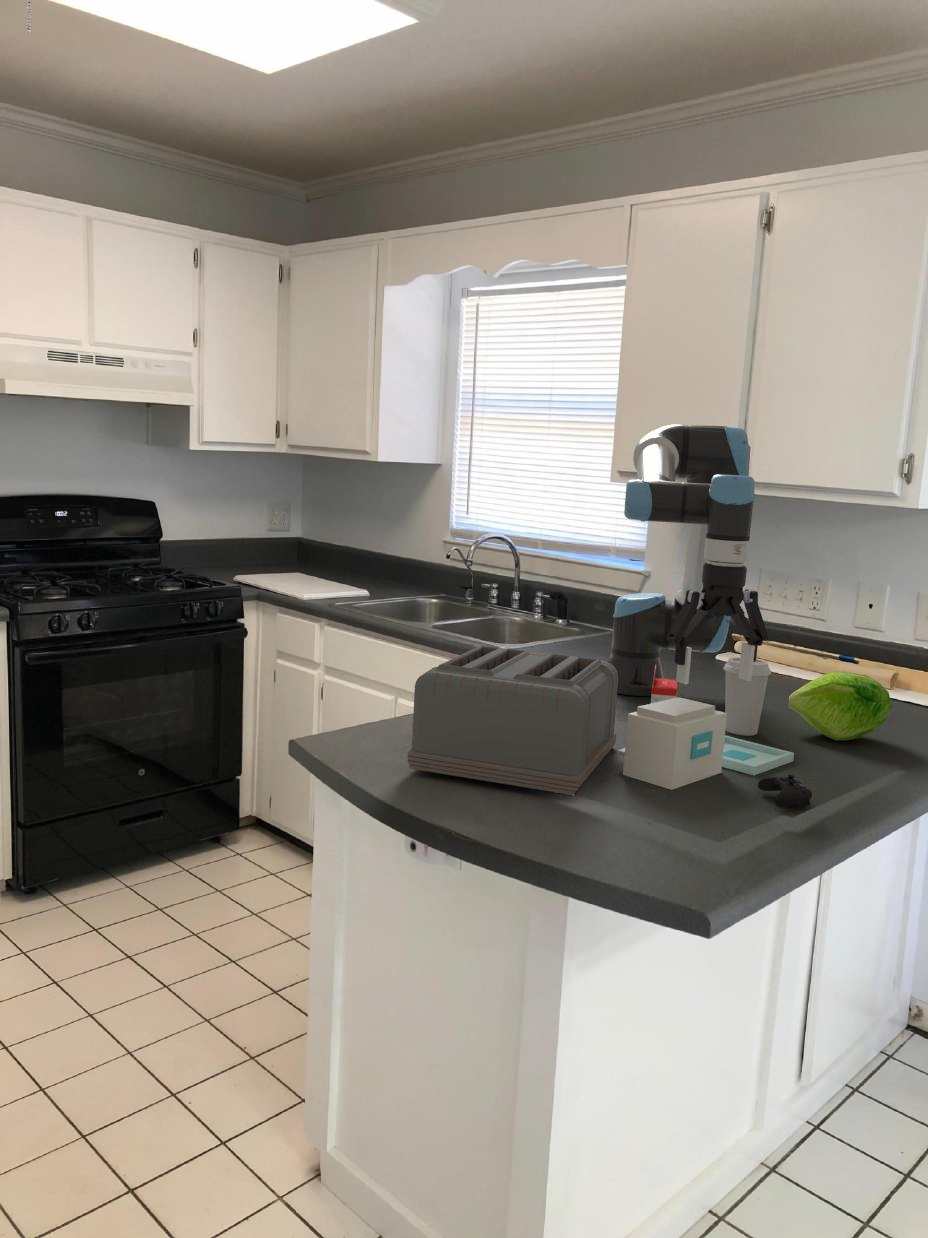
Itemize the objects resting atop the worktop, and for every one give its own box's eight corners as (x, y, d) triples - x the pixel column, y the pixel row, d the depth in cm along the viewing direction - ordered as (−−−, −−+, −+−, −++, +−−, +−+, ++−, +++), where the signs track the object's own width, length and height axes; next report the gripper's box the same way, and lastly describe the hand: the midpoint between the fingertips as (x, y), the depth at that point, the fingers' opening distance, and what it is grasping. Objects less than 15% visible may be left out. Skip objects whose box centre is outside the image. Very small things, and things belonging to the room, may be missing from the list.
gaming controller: (753, 782, 172) (781, 760, 172) (771, 805, 173) (799, 783, 173) (774, 802, 162) (804, 779, 162) (793, 826, 163) (823, 803, 163)
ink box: (672, 747, 197) (679, 673, 195) (647, 745, 198) (653, 671, 196) (672, 736, 205) (679, 665, 203) (648, 734, 206) (654, 663, 204)
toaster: (620, 743, 199) (627, 653, 196) (577, 796, 166) (585, 688, 163) (474, 722, 209) (479, 636, 206) (406, 768, 175) (411, 666, 173)
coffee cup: (768, 730, 215) (775, 660, 212) (760, 740, 206) (768, 667, 204) (722, 723, 219) (728, 654, 216) (713, 732, 210) (720, 661, 208)
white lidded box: (609, 770, 180) (614, 703, 178) (660, 755, 191) (665, 692, 189) (674, 790, 170) (680, 720, 169) (723, 773, 182) (730, 707, 180)
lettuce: (788, 722, 223) (795, 661, 221) (887, 735, 216) (895, 672, 213) (783, 737, 209) (790, 672, 207) (888, 752, 202) (896, 685, 200)
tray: (681, 755, 192) (682, 747, 192) (723, 742, 203) (723, 735, 202) (753, 775, 182) (754, 766, 181) (793, 761, 192) (794, 753, 192)
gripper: (677, 566, 171) (667, 689, 174) (796, 566, 180) (783, 682, 184) (653, 560, 177) (643, 679, 181) (768, 560, 187) (756, 673, 191)
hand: (714, 681), depth 182 cm, fingers open, 13 cm apart
